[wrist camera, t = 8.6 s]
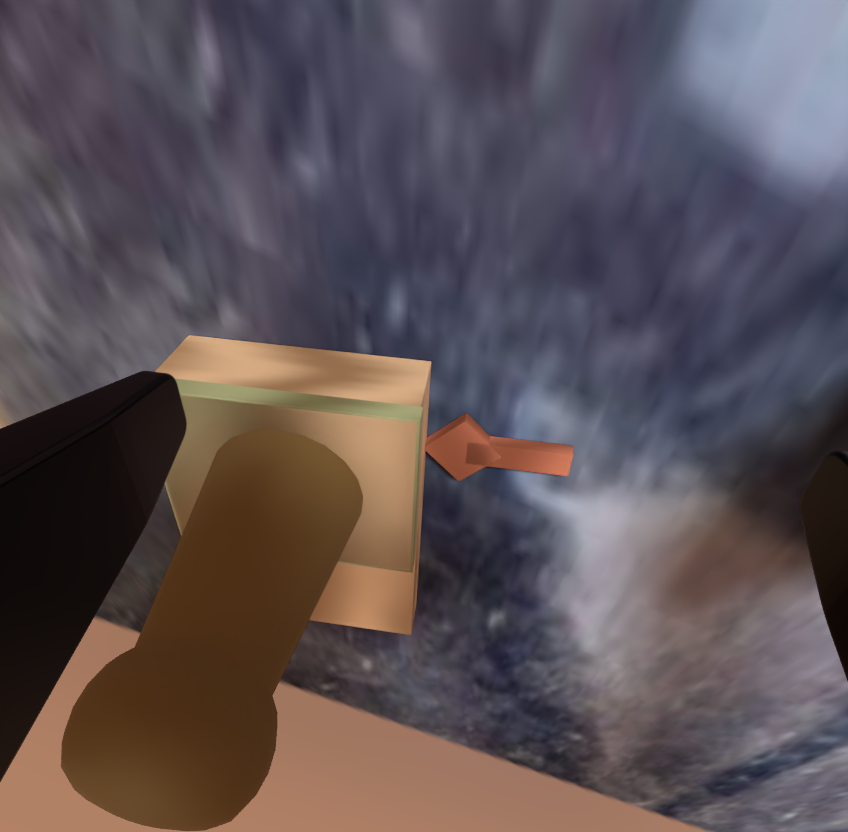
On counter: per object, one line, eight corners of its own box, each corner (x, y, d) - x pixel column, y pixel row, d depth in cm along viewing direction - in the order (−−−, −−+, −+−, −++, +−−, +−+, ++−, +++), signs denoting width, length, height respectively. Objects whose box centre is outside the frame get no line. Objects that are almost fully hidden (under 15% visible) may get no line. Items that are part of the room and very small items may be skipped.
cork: (316, 562, 25) (208, 874, 16) (188, 493, 23) (-9, 798, 14) (393, 487, 22) (309, 828, 13) (251, 400, 20) (43, 723, 11)
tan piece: (590, 376, 22) (602, 441, 19) (526, 618, 32) (527, 688, 29) (186, 332, 23) (134, 387, 20) (243, 578, 33) (214, 641, 30)
